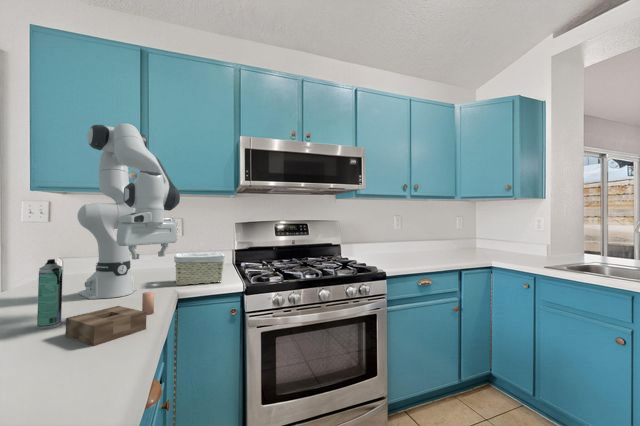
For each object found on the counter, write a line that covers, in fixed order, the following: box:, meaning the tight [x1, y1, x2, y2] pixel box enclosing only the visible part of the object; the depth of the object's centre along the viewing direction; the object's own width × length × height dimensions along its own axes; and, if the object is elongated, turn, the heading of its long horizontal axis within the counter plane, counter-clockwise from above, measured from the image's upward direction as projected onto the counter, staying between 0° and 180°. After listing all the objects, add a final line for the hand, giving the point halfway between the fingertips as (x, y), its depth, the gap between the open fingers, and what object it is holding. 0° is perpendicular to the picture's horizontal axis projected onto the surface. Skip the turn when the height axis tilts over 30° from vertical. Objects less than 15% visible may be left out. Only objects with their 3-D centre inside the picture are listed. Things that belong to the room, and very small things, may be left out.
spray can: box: [36, 258, 64, 330], centre depth 95 cm, size 6×6×20 cm
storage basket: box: [173, 252, 226, 286], centre depth 162 cm, size 24×16×15 cm
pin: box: [141, 291, 155, 316], centre depth 108 cm, size 4×4×7 cm
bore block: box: [65, 305, 147, 347], centre depth 89 cm, size 14×14×5 cm
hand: (148, 257), depth 108 cm, fingers open, 8 cm apart
